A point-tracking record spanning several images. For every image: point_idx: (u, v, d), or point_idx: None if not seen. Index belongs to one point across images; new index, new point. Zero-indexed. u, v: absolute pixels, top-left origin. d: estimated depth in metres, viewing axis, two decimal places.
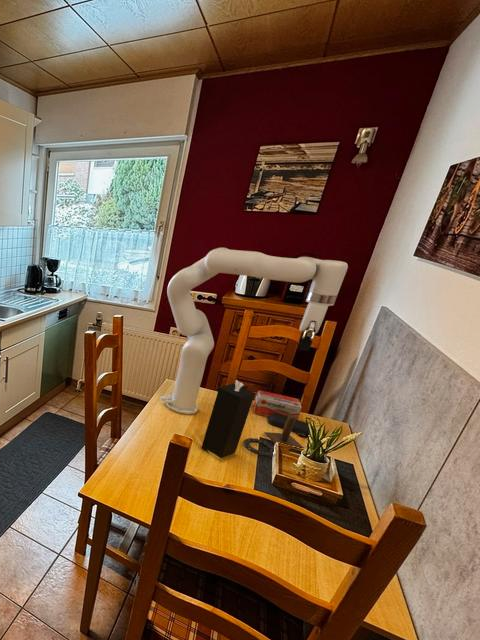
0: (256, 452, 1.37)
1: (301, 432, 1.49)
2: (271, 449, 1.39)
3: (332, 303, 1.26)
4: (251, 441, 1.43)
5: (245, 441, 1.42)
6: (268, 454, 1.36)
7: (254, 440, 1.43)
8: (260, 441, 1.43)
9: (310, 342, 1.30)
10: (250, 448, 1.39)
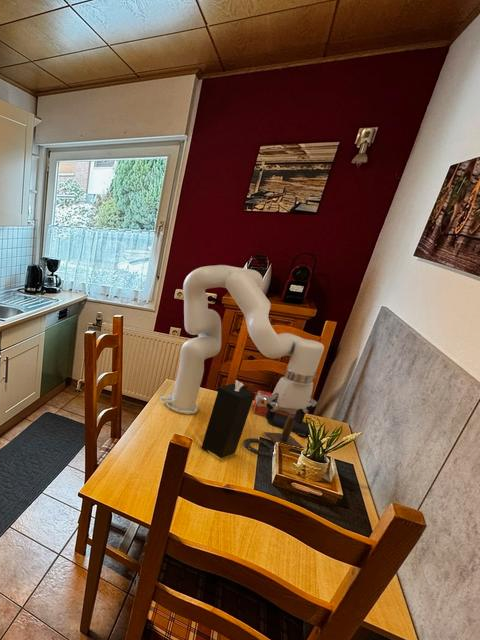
0: (256, 452, 1.37)
1: (301, 432, 1.49)
2: (271, 449, 1.39)
3: (298, 382, 1.27)
4: (251, 441, 1.43)
5: (245, 441, 1.42)
6: (268, 454, 1.36)
7: (254, 440, 1.43)
8: (260, 441, 1.43)
9: (272, 413, 1.34)
10: (250, 448, 1.39)
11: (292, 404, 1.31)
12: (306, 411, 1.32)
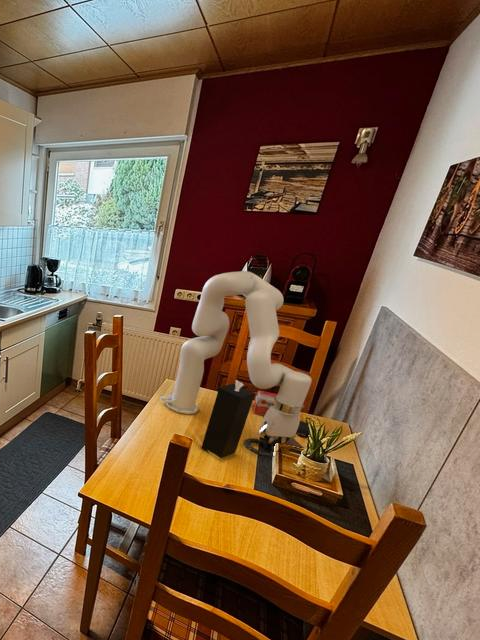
0: (257, 452, 1.37)
1: (301, 432, 1.49)
2: (272, 449, 1.39)
3: (286, 412, 1.31)
4: (251, 441, 1.43)
5: (245, 441, 1.42)
6: (269, 454, 1.36)
7: (254, 440, 1.43)
8: (260, 441, 1.43)
9: (270, 445, 1.38)
10: (251, 448, 1.39)
11: (280, 433, 1.35)
12: (283, 442, 1.38)
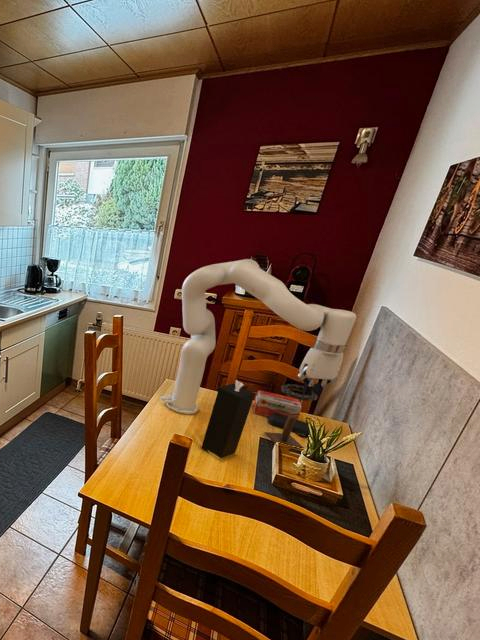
0: (296, 395, 1.33)
1: (301, 432, 1.49)
2: (311, 393, 1.34)
3: (329, 351, 1.27)
4: (290, 386, 1.39)
5: (284, 386, 1.38)
6: (309, 397, 1.32)
7: (293, 386, 1.39)
8: (299, 386, 1.39)
9: (309, 388, 1.34)
10: (290, 392, 1.35)
11: (321, 374, 1.31)
12: (324, 385, 1.33)
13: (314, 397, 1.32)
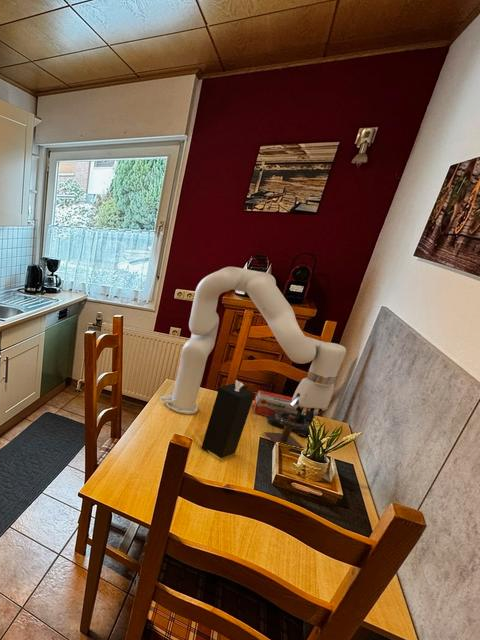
0: (289, 424, 1.38)
1: (301, 432, 1.49)
2: (304, 421, 1.40)
3: (320, 383, 1.32)
4: (283, 414, 1.45)
5: (277, 414, 1.44)
6: (302, 425, 1.37)
7: (286, 413, 1.45)
8: (292, 414, 1.44)
9: (302, 416, 1.40)
10: (283, 420, 1.40)
11: (313, 404, 1.37)
12: (316, 413, 1.39)
13: (306, 425, 1.37)
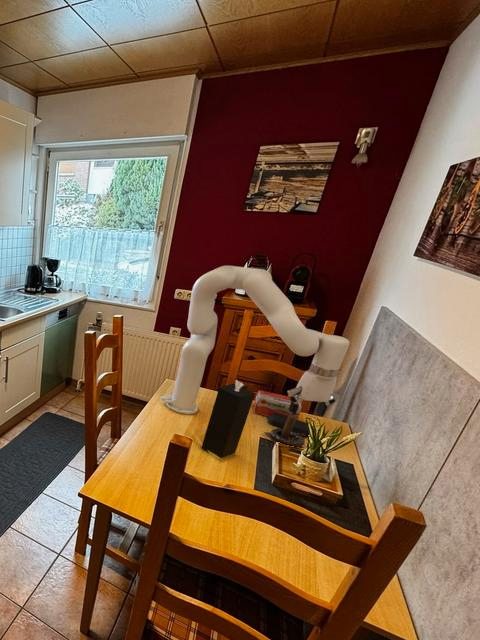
0: (285, 441, 1.41)
1: (301, 432, 1.49)
2: (299, 438, 1.43)
3: (323, 376, 1.31)
4: (279, 431, 1.48)
5: (273, 431, 1.47)
6: (297, 443, 1.40)
7: (282, 430, 1.48)
8: None
9: (296, 406, 1.39)
10: (279, 438, 1.43)
11: (315, 397, 1.36)
12: (328, 404, 1.37)
13: (301, 443, 1.40)
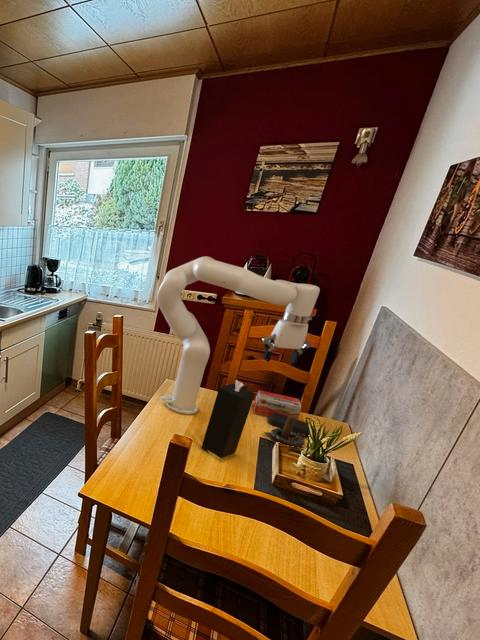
0: (285, 441, 1.41)
1: (301, 432, 1.49)
2: (299, 438, 1.43)
3: (295, 322, 1.39)
4: (279, 431, 1.48)
5: (273, 431, 1.47)
6: (297, 443, 1.40)
7: (282, 430, 1.48)
8: None
9: (269, 353, 1.46)
10: (279, 438, 1.43)
11: (288, 344, 1.43)
12: (301, 352, 1.44)
13: (301, 443, 1.40)
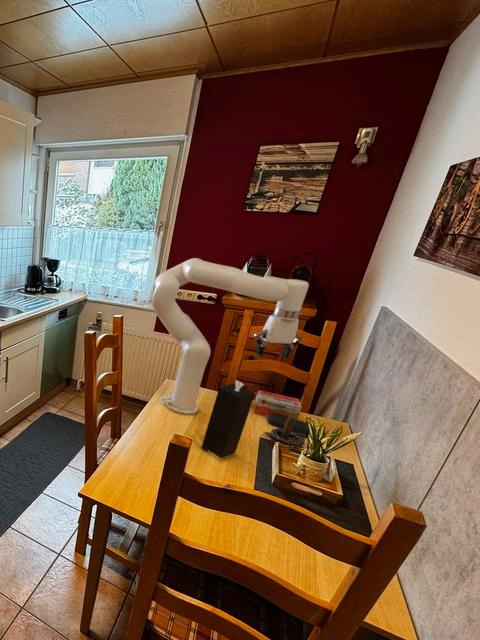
0: (285, 441, 1.41)
1: (301, 432, 1.49)
2: (299, 438, 1.43)
3: (285, 317, 1.41)
4: (279, 431, 1.48)
5: (273, 431, 1.47)
6: (297, 443, 1.40)
7: (282, 430, 1.48)
8: None
9: (262, 348, 1.49)
10: (279, 438, 1.43)
11: (279, 339, 1.46)
12: (292, 346, 1.47)
13: (301, 443, 1.40)
